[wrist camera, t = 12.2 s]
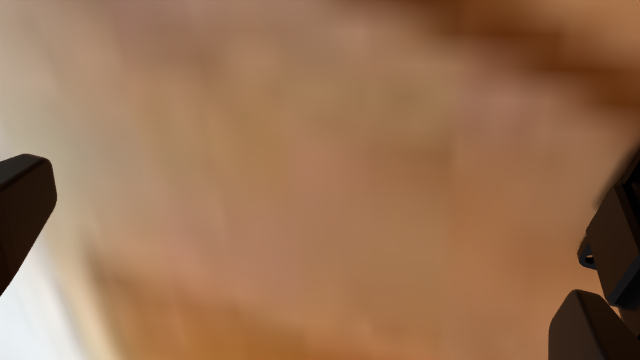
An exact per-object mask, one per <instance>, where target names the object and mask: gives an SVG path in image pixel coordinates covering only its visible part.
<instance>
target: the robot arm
mask: <svg viewBox="0 0 640 360" xmlns="http://www.w3.org/2000/svg"><path fill="white" fill-rule="evenodd" d="M56 201H57V191H56V186H55V180H54V174H53V168H52V164H51V162H50V161H49V160H48V159H46V158H44V157H40V156H36V155H32V154H21V155H18V156H15V157H12V158H10V159H7V160H4V161H1V162H0V296H1V295H2V294H3V292H4V291H5V289H6V288H7V287H8V285H9V284H10V282H11V281H12V279H13V278H14V276H15V275H16V273H17V272H18V270H19V268H20V267H21V265H22V263H23V261H24V260H25V258H26V256H27V255H28V253H29V251H30V249H31V248H32V246H33V244H34V243H35V241H36V239H37V237H38V236H39V234H40V232H41V231H42V229H43V227H44V225H45V224H46V222H47V220H48V218H49V217H50V215H51V213H52V212H53V210H54V208H55V205H56ZM586 234H587V236H586V238H585V240H584V241H583V243H582V245H581V246H580V248H579V250H578V252H577V255H578V259H579V263H580V264H581V265H582V266H584V267H586V268H590V269H594V270H597V272H598V276H599V279H600V282H601V286H602V289H603V293H604V296H605V299H606V300H607V302H608V303H607V302H606V301H605V300H604V299H603V298H602V297H601V296H600V295H598V294H595V293H591V292H587V291H583V290H579V289H575V290H572V291H571V292H570V293H569V294H568V295H567V297H566V298H565V300H564V302H563V303H562V305H561V306H560V308H559V309H558V311H557V313H556V314H555V316H554V317H553V319H552V321H551V323H550V327H549V343H548V360H640V150H639V152H638V153H637V155H636V156H635V158H634V160H633V161H632V163H631V165H630V166H629V168H628V169H627V171H626V173H625V174H624V176H623V178H622V179H621V181H620V183H617V184H616V185H614V186H612V188H611V189H610V191H609V193H608V194H607V196H606V198H605V199H604V201H603V203H602V204H601V206H600V208H599V209H598V211H597V212H596V214H595V216H594V217H593V219H592V221H591V222H590V224H589V226H588V227H587V229H586ZM589 255H593V257H587V256H589ZM608 304H609V305H610V306H614V307H618V309H619V313H620V316H621V319H622V320H621V319H620V317H619V316H618V315H617V314H616V313H615V312H614V310H613V309H612V308H611V307H610V306H609V305H608Z"/></svg>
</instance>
